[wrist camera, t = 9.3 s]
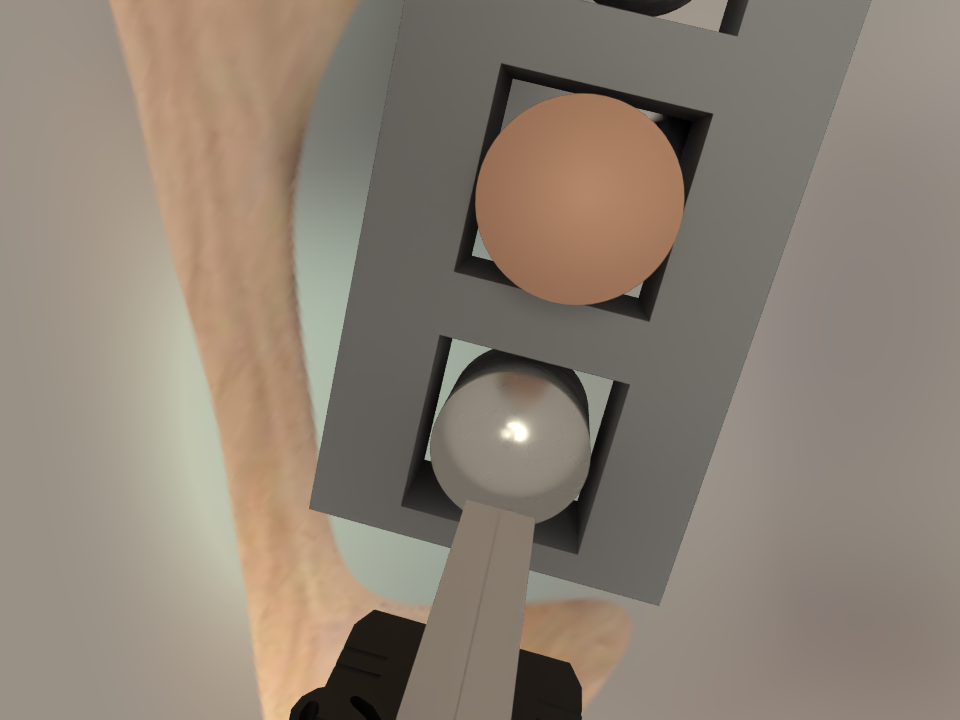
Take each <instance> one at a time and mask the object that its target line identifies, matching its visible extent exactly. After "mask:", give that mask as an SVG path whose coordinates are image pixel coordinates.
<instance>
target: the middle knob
mask: <svg viewBox="0 0 960 720" xmlns="http://www.w3.org/2000/svg"><path fill="white" fill-rule="evenodd" d="M475 207H476V218H477V223H478V227H479V231H480V235H481V237H482V240H483V243H484V245H485V247H486V249H487V251H488V253H489V255H490V256H491V258H492V259H493V261H494V262H495V264H496V265H497V267H498V268H499V269H500V270H501V271H502V272H503V273H504V275H505V276H506V277H507V278H509V279H510V280H511V281H512V282H513V283H514V284H516V285H517V286H519V287H520V288H522V289H523V290H525V291H526V292H528V293H530V294H532V295H534V296H536V297H538V298H541V299H544V300H547V301H550V302H555V303H560V304H567V305H586V304H594V303H599V302H604V301H607V300H610V299H613V298H616V297H618V296H620V295H622V294H624V293H626V292H628V291H630V290H632V289H633V288H635V287H636V286H638V285H639V284H641V283H642V282H643V281H644V280H645V279H647V278H648V277H649V276H650V275H651V274H652V273H653V272H654V271H655V270H656V269H657V268H658V267H659V265H660V264H661V263H662V261H663V260H664V259H665V257H666V256H667V254H668V253H669V251H670V249H671V247H672V245H673V243H674V241H675V239H676V236H677V234H678V231H679V228H680V224H681V220H682V216H683V208H684V184H683V178H682V172H681V169H680V165H679V162H678V159H677V157H676V154H675V152H674V150H673V148H672V146H671V144H670V143H669V141H668V140H667V138H666V136H665V135H664V134H663V132H662V131H661V130H660V129H659V128H658V127H657V125H656V124H655V123H654V122H653V121H651V120H650V119H649V118H648V117H647V116H646V115H645V114H643V113H642V112H640V111H639V110H637V109H636V108H634V107H633V106H631V105H628V104H626V103H624V102H622V101H620V100H617V99H614V98H611V97H607V96H602V95H596V94H570V95H563V96H559V97H555V98H551V99H548V100H546V101H543V102H541V103H538V104H536V105H534V106H533V107H531V108H529V109H527V110H525V111H524V112H523V113H521V114H520V115H519V116H517V117H516V118H515V119H513V120H512V121H511V122H510V123H509V124H508V125H507V126H506V127H505V128H504V129H503V130H502V132H501V133H500V134H499V135H498V137H497V138H496V139H495V141H494V142H493V144H492V146H491V147H490V149H489V151H488V152H487V155H486V157H485V159H484V161H483V164H482V166H481V170H480V173H479V177H478V181H477V187H476V201H475Z"/></svg>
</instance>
